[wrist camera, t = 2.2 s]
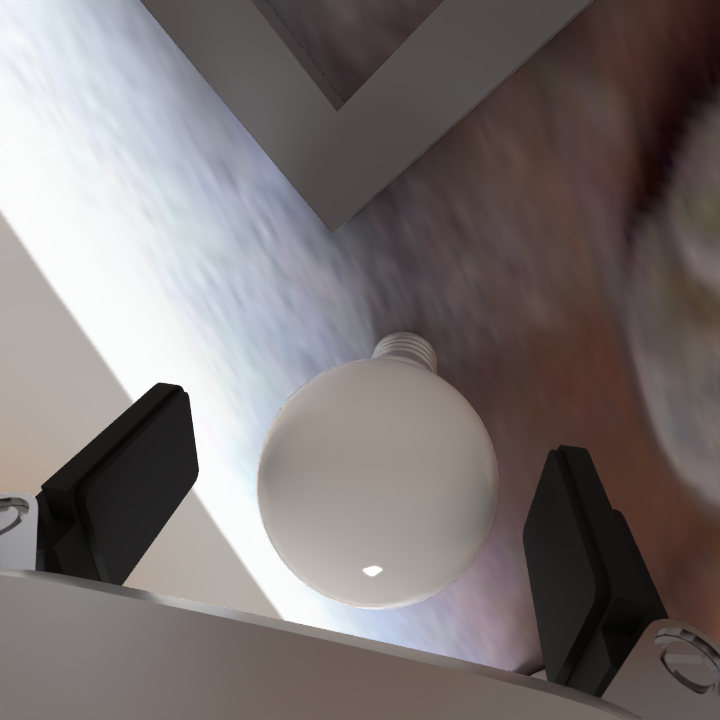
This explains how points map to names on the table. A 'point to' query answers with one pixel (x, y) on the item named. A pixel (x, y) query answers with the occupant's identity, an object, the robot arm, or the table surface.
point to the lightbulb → (378, 479)
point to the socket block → (371, 101)
